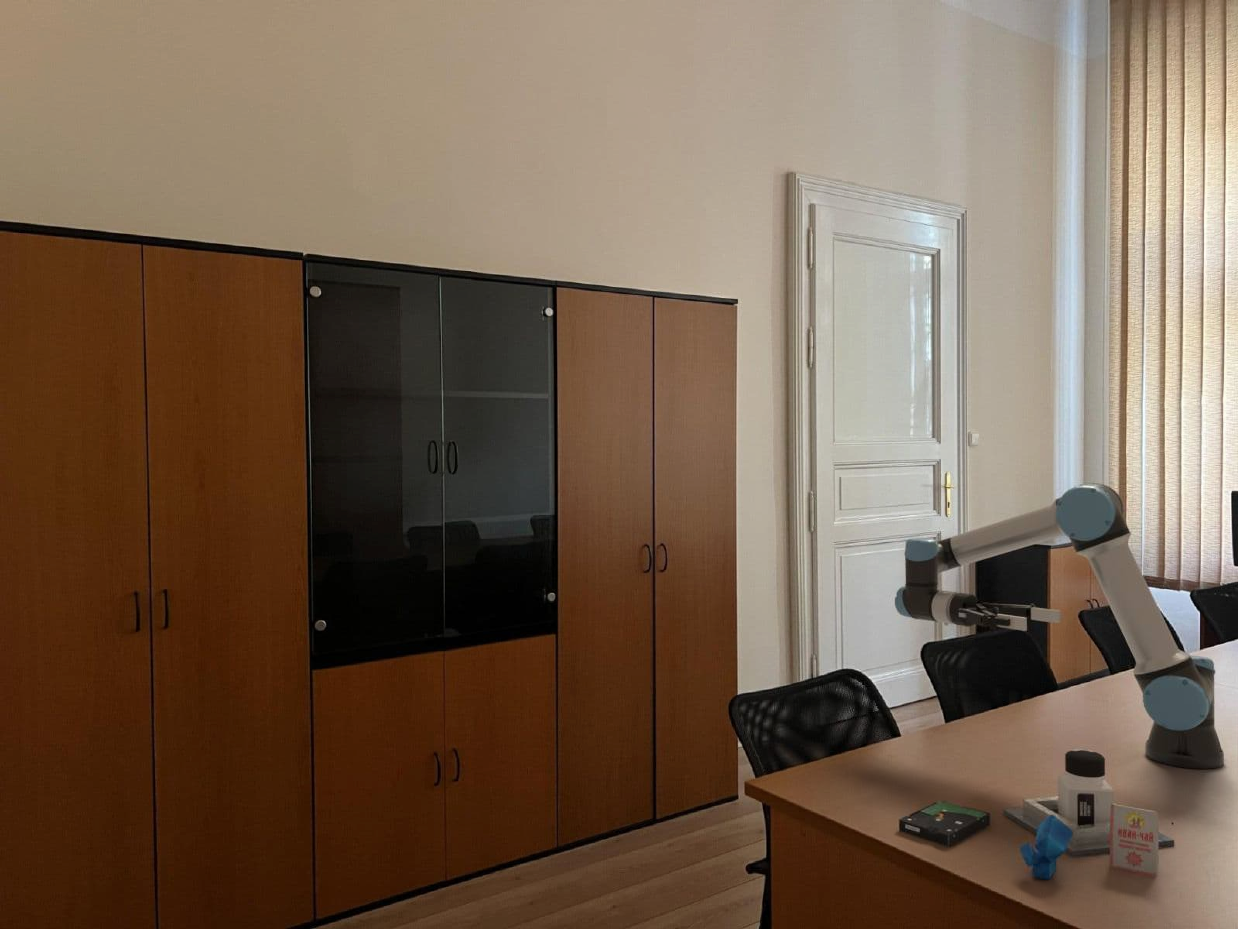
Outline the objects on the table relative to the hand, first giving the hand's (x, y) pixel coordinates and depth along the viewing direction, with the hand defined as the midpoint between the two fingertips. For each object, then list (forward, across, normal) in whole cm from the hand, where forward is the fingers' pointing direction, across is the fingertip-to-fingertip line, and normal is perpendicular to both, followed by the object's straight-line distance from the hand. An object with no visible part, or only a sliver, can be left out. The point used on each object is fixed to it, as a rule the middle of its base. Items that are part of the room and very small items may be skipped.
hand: (1043, 620), depth 213 cm
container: (+23, +26, -31) cm, 47 cm away
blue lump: (+28, +49, -32) cm, 65 cm away
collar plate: (+23, +27, -32) cm, 47 cm away
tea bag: (+36, +36, -32) cm, 60 cm away
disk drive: (+7, +45, -33) cm, 56 cm away
